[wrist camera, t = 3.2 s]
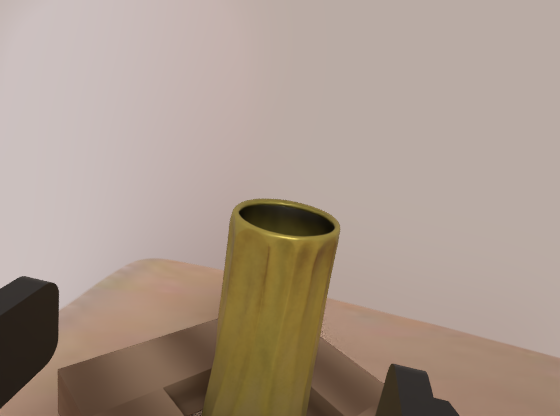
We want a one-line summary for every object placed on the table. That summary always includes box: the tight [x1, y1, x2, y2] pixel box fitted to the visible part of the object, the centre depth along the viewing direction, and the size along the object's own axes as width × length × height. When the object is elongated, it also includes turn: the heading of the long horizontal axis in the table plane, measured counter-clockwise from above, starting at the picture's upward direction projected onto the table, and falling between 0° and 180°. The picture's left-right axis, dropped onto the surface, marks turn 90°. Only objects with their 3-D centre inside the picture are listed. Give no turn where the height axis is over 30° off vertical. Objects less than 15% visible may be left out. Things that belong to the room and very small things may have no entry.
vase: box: [202, 199, 340, 416], centre depth 24 cm, size 6×6×14 cm
